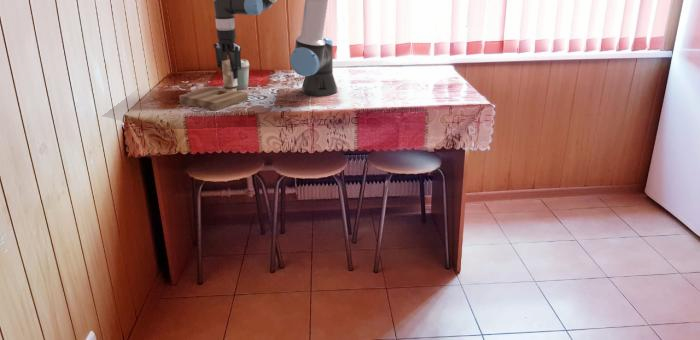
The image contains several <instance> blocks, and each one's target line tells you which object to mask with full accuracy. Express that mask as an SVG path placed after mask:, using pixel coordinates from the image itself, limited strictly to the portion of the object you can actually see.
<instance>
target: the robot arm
mask: <svg viewBox="0 0 700 340" xmlns="http://www.w3.org/2000/svg"><path fill="white" fill-rule="evenodd" d="M277 1H278V0H213V9H214V14H215V15H214V17H215V19H214V20H215V28H216V39H218V42H217V43H213V48H214V50H215V52H214V53H215V59H216V67H217V68H219V69H220V70H221V77H222V78H223V70H222V61H225V60H230V64H231V68H232V70H231V81H232V87H234V86H238V83H237V78H238V70H240V69H241V60H242V59H241V58H242V56H241V54H242V53H241V51H242V46H241V45H238V44H237V43H236V38H237V37H236V34H237V33H236V29H235V27H236V24H235V22H236V21H235V15H244V16H245V15H246V16H247V15H248V16H258V15H261V14H262V12H267V10H269V9H270V8H272V6H273V4H275V3H276V2H277ZM328 2H329V0H304V5H303V15H302V22H301V28H300V29H301V31H300V35H298V36H297V37H296V39H295V46H294V49H293V51H292V52H291V54H290V57H289V63H290V66H291V68H292V70H293V71H294V72H295V73H296V74H297V75H299V76H302V77H304V79H303V81H302V86H301V92H302V94H304V95H307V96H317V97H318V96H319V97H321V96H323V97H324V96H331V95H334V94H336V93H337V92H338V91H337V90H338V89H337V88H338V87H337V84H336V81H335V77H334V71H333V69H334V67H333V65H334V64H333V56H334V55H333V48H334V46H333V40H332V39H331V38H327V37H325V38H324V37H323V36H324V29H325V22H326V16H327V10H328ZM222 83H224V81H223V82H222Z"/></svg>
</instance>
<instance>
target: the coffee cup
mask: <svg viewBox="0 0 700 340" xmlns="http://www.w3.org/2000/svg"><path fill="white" fill-rule="evenodd" d="M249 70H250V63H249V60H247V59H241V69H240V70H238V78H237V83H238V87H237V90H239V91H240V90H241V91H242V90H247V89H248V88H249V74H250V72H249Z"/></svg>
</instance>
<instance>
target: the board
mask: <svg viewBox="0 0 700 340" xmlns="http://www.w3.org/2000/svg"><path fill="white" fill-rule="evenodd" d="M178 97H179V104H184V105H187V106H188V105H189V106H194V107H197V108H202V109H207V110H211V111H216V112H217V111H219V110H223V109H225V108H229V107H232V106H235V105H238V104H241V103H243V102H247V101H249V94H248V92H245V91H240V90H239V91H238V90H237V91H234V90H229V89H225V88H224V87H223V88H221V87H217V86H209V87H206V88H201V89H198V90H195V91H194V90H193V91H191V92H187V93H185V94H181V95H178ZM228 106H229V107H228Z"/></svg>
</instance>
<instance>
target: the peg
mask: <svg viewBox="0 0 700 340" xmlns="http://www.w3.org/2000/svg"><path fill="white" fill-rule="evenodd" d="M222 70H223V77H222V79H223V81H224V82H223V89H229V90H234V91H238V89H237V87H238V86H234V87H232V81H231V70H232V68H231V64H230V59H227V60H225V61H222ZM222 70H221V71H222Z"/></svg>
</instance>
